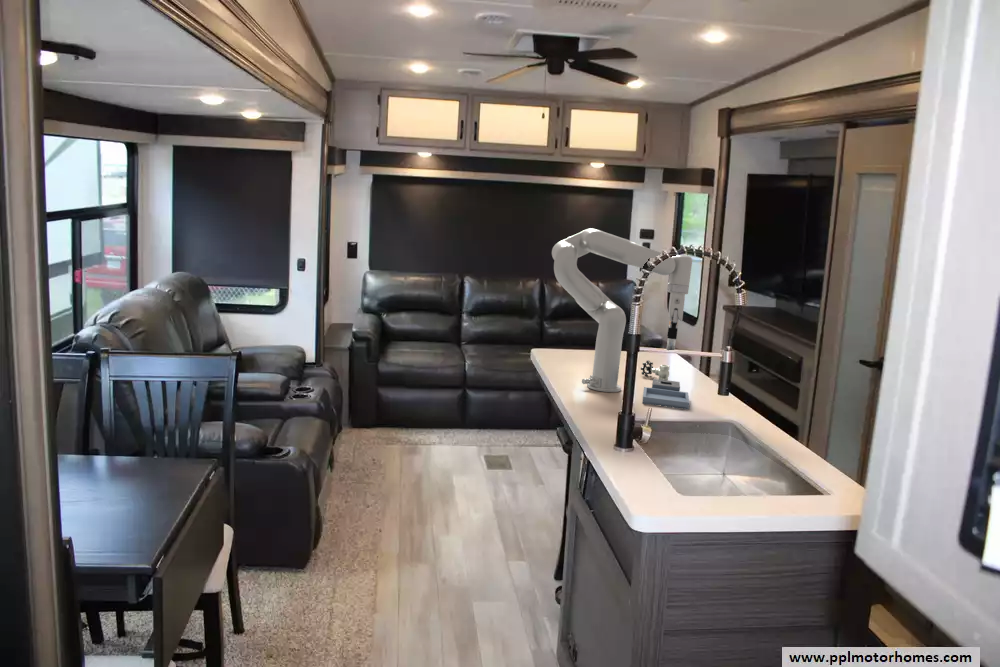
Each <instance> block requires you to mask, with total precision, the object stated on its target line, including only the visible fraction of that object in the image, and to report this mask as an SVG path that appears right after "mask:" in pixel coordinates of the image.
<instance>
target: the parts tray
mask: <svg viewBox="0 0 1000 667" xmlns="http://www.w3.org/2000/svg"><path fill="white" fill-rule="evenodd" d="M642 394H643V395H642V403H641V404H643V405H649V406H650V405H651V406H656V405H661V406H660V407H664V406H667V407H666V408H672V407H674V409H679V408H683V409H682V410H687V409H689V408H690V398H689V392H687V391H672V390H664V389H656V388H652V387H648V386H647V387H646V386H643V393H642Z"/></svg>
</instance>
